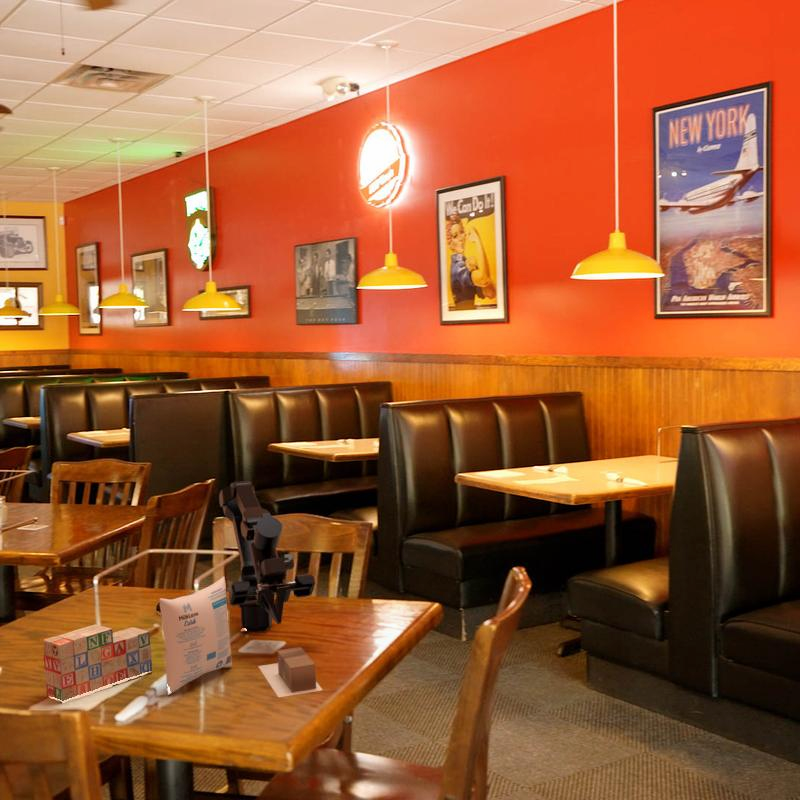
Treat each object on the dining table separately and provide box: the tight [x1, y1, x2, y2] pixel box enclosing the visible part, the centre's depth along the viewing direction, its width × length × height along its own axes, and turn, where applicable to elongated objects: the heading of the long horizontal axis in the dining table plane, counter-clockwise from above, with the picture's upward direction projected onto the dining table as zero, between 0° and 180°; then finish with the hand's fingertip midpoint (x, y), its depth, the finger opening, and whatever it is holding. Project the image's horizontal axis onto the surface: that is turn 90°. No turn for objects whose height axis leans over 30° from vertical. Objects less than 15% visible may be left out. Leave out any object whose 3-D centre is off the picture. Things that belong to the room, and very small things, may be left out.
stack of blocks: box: [42, 623, 153, 701], centre depth 208 cm, size 21×6×12 cm, turn 139°
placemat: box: [257, 662, 323, 698], centre depth 207 cm, size 20×9×1 cm, turn 20°
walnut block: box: [276, 646, 317, 692], centre depth 205 cm, size 5×5×12 cm
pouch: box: [159, 576, 233, 693], centre depth 208 cm, size 8×19×20 cm, turn 144°
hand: (279, 622), depth 218 cm, fingers closed
